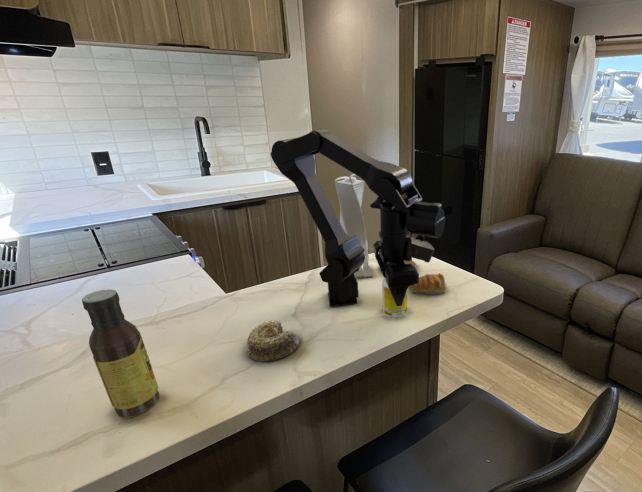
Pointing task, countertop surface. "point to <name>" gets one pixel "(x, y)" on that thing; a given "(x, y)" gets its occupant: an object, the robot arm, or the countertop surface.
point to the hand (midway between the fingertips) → (394, 295)
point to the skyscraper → (353, 215)
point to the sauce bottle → (120, 356)
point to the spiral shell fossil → (270, 342)
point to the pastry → (430, 284)
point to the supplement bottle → (392, 303)
